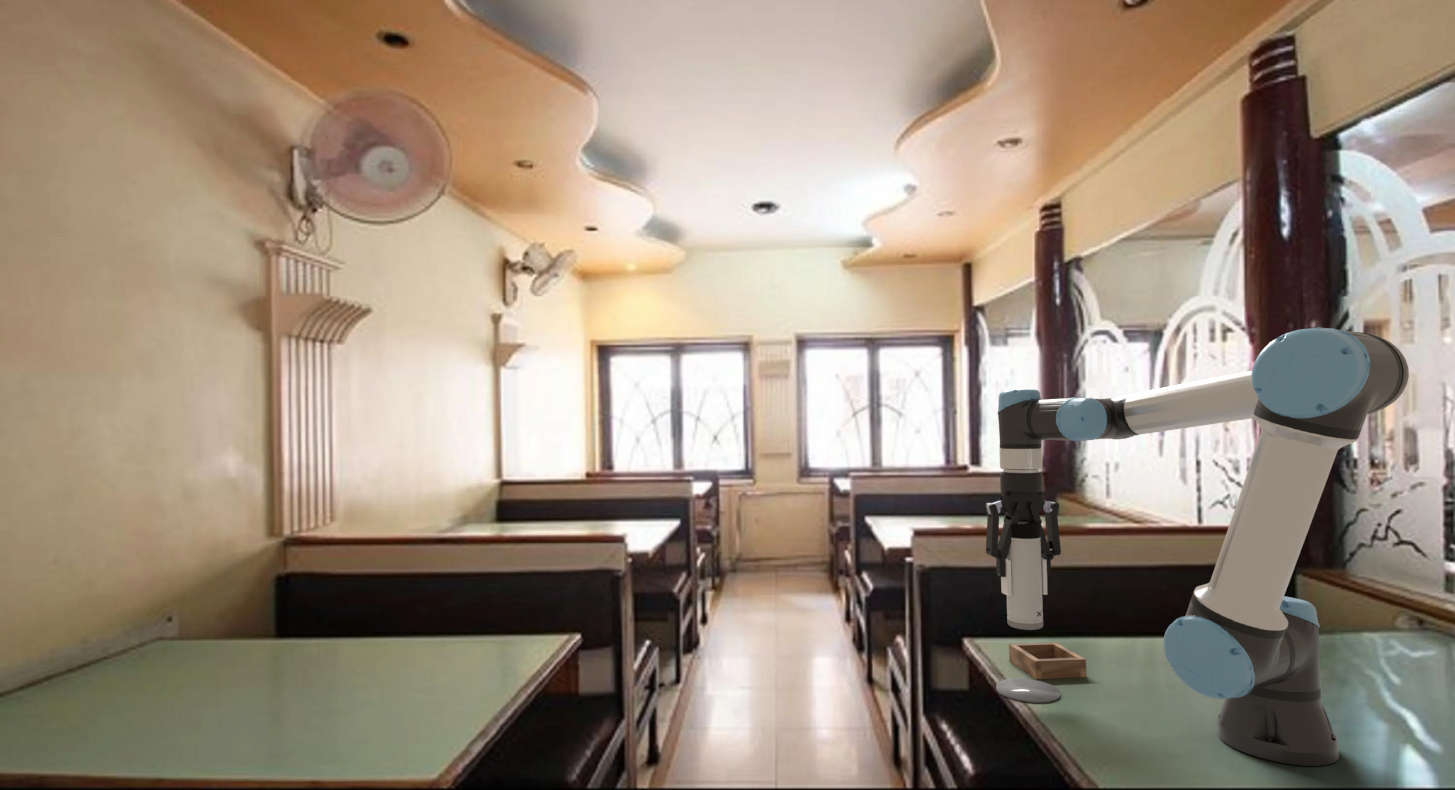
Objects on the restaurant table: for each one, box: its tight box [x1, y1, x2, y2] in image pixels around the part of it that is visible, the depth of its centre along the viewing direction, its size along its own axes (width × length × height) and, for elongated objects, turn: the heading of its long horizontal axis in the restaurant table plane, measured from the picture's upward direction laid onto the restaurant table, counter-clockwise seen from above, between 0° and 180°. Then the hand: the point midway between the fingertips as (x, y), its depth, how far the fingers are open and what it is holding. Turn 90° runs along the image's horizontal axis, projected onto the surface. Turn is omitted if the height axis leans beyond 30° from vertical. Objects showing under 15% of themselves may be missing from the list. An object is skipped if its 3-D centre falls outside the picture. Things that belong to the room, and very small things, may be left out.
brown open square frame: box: [1008, 642, 1088, 680], centre depth 151 cm, size 11×10×4 cm
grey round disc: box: [995, 678, 1061, 704], centre depth 139 cm, size 11×11×1 cm
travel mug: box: [1006, 519, 1044, 631], centre depth 140 cm, size 6×7×20 cm
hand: (1024, 593), depth 139 cm, fingers closed on travel mug, 6 cm apart
